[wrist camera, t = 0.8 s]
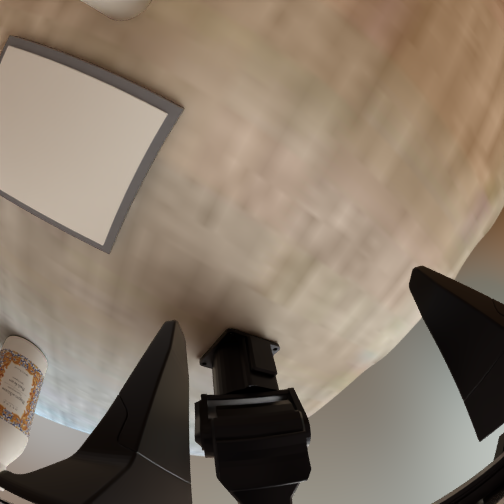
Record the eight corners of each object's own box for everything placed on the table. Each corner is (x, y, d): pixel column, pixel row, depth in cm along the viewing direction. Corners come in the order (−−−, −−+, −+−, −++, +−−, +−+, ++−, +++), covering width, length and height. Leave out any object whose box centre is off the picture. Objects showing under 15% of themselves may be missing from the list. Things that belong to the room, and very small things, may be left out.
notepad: (111, 248, 20) (108, 256, 20) (-27, 171, 14) (-34, 176, 13) (184, 108, 16) (183, 109, 15) (15, 36, 9) (7, 35, 8)
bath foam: (55, 357, 27) (25, 502, 10) (41, 373, 29) (15, 496, 12) (12, 325, 23) (-36, 470, 7) (2, 345, 25) (-36, 468, 8)
